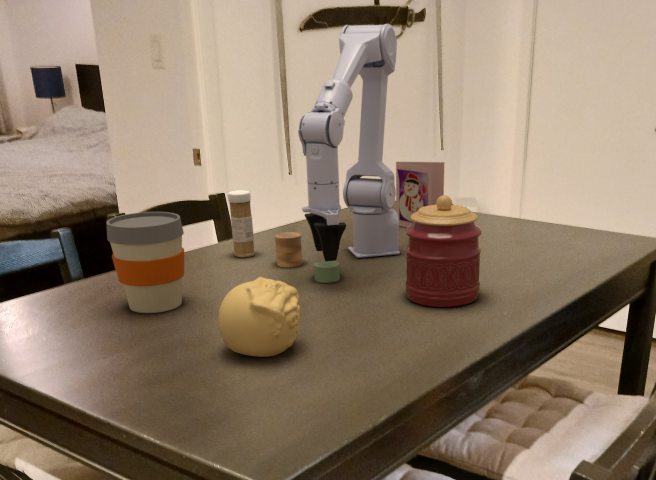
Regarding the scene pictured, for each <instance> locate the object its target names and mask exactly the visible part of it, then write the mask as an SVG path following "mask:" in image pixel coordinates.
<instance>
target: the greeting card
mask: <svg viewBox="0 0 656 480" xmlns="http://www.w3.org/2000/svg"><path fill="white" fill-rule="evenodd" d="M395 189H396V196H395V211H396V212H397V215H398V220H399V227H402V228H403V227H404V228H406V229H407V228H408V227H409V226H410V225H412V223H413V221H412V220H411V215H412V214H414V213H415V212H417V211H418V210H419V209H420V208H422V207H425V206H430V205H436V202H437V199H438V198H439V197H440V196H443V195H444V192H445V161H395Z"/></svg>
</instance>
